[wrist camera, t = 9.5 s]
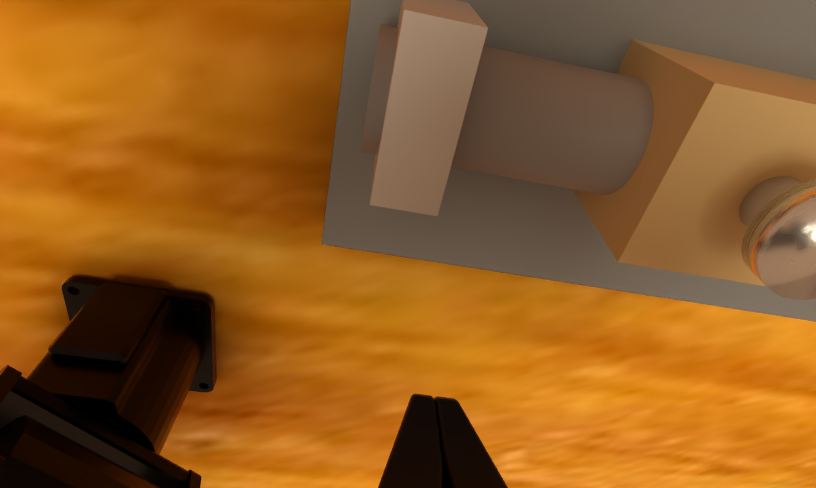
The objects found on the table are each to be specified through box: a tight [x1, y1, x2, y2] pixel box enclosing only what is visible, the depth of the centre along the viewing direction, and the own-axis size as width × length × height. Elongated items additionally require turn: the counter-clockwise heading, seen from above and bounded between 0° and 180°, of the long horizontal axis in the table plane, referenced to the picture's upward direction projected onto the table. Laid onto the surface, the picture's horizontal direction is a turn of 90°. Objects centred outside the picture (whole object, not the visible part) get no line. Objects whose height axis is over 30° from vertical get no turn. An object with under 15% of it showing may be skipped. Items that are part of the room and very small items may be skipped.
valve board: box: [322, 0, 816, 321], centre depth 15 cm, size 14×24×8 cm, turn 79°
